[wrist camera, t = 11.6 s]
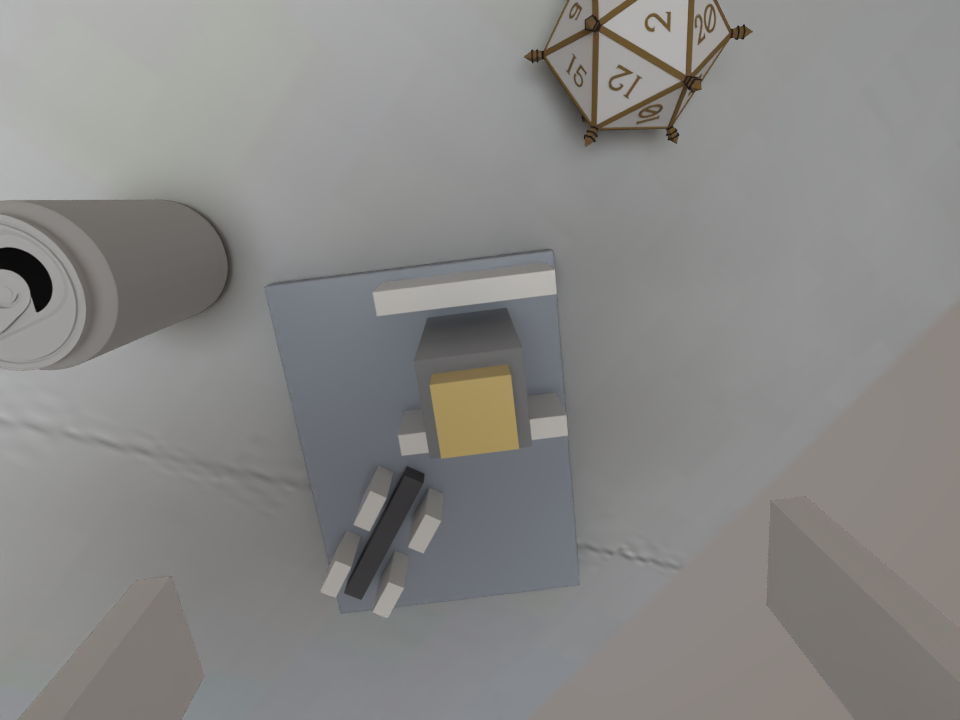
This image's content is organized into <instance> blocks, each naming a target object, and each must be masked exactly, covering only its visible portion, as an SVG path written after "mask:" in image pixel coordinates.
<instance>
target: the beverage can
mask: <svg viewBox="0 0 960 720" xmlns="http://www.w3.org/2000/svg"><path fill="white" fill-rule="evenodd" d="M227 271H228V265H227V256H226V253H225V250H224V247H223V244H222V241H221V239H220V237H219V236H218V234H217V233H216V231H215V230H214V228H213V227H212V226H211V225H210V224H209V222H208V221H207V220H205V219H204V218H203V217H202V216H201V215H200V214H198V213H197V212H195V211H194V210H192V209H190V208H189V207H187V206H184V205H182V204H179V203H176V202H172V201H167V200H7V201H0V368H3V369H8V370H19V371H25V370H35V369H40V370H58V369H65V368H69V367H73V366H76V365H79V364H81V363H83V362H86V361H88V360H90V359H93V358H95V357H97V356H100V355H102V354H104V353H107V352H109V351H111V350H114V349H116V348H118V347H121V346H123V345H125V344H128V343H130V342H132V341H135V340H137V339H139V338H142V337H144V336H146V335H149V334H151V333H153V332H156V331H158V330H160V329H163V328H165V327H167V326H170V325H172V324H174V323H177V322H179V321H181V320H184V319H186V318H188V317H191V316H193V315H195V314H198V313H200V312H202V311H204V310H205V309H207V308H208V307H209V306H211V305H212V304H213V303H214V302H215V301H216V300H217V298H218V297H219V296H220V294H221V292H222V290H223V288H224V286H225V282H226V279H227Z"/></svg>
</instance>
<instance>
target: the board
mask: <svg viewBox="0 0 960 720" xmlns="http://www.w3.org/2000/svg"><path fill="white" fill-rule="evenodd" d="M541 262H545V263H547V264H548V265H549V266H550V267H552V268H553V269H554V258H553V251H552V250H551V249H545V250H537V251H529V252H521V253H513V254H505V255H497V256H489V257H481V258H473V259H465V260H457V261H449V262H441V263H433V264H424V265H416V266H408V267H400V268H392V269H384V270H376V271H368V272H360V273H352V274H344V275H336V276H328V277H320V278H312V279H304V280H295V281H287V282H279V283H272V284H269V285H267V286H265V287H264V288H265V292H266V297H267V301H268V305H269V309H270V314H271V318H272V322H273V326H274V331H275V335H276V339H277V343H278V348H279V352H280V356H281V361H282V365H283V369H284V373H285V378H286V382H287V386H288V390H289V395H290V399H291V403H292V408H293V412H294V416H295V420H296V425H297V429H298V433H299V437H300V442H301V446H302V450H303V454H304V459H305V463H306V467H307V472H308V476H309V480H310V484H311V489H312V493H313V497H314V501H315V506H316V510H317V514H318V518H319V523H320V527H321V531H322V536H323V540H324V544H325V548H326V553H327V557H328V561H329V568H328V571H327V573H326V576H325V579H324V582H323V584H322V587H321V590H320V592H321V593H324V594H326V595H329V596H331V597H334V598H336V596H337V600H338V604H339V608H340V612H341V614H342V613H351V612H359V611H368V610H373V611H372V613H375V614H378V615H380V616H383V617H385V618H388V617H389V615H390V613H391V611H392V609H393V607H401V606H409V605H418V604H426V603H435V602H443V601H451V600H460V599H468V598H476V597H485V596H493V595H502V594H510V593H518V592H527V591H535V590H543V589H552V588H560V587H568V586H577V585H580V584H579V571H578V559H577V546H576V534H575V521H574V509H573V496H572V484H571V471H570V459H569V446H568V436H561V437H553V438H545V439H537V440H532V447H524V448H519V449H515V450H507V451H499V452H491V453H483V454H475V455H466V456H458V457H450V458H442V459H441V458H435V459H430V457H429V453H421V454H413V455H405V456H402V455H401V450H400V444H399V438H398V434H399V430H400V427H401V423H402V420H403V416H404V413H405V411H409V410H417V409H422V408H421V402H420V396H419V390H418V384H417V378H416V372H415V366H414V359H415V355H416V352H417V349H418V346H419V343H420V339H421V336H422V333H423V330H424V327H425V324H426V320H427V318H428V317H436V316H444V315H452V314H460V313H468V312H476V311H484V310H492V309H500V308H507V310H508V313H509V315H510V318H511V320H512V323H513V325H514V328H515V331H516V333H517V336H518V338H519V341H520V343H521V346H522V351H523V361H524V370H525V380H526V390H527V396H531V395H540V394H548V393H556V394H557V396H558V398H559V400H560V403H561V405H562V407H563V409H564V411H565V413H566V408H565V396H564V383H563V371H562V358H561V346H560V333H559V321H558V308H557V296H556V294H553V295H545V296H537V297H529V298H521V299H513V300H505V301H496V302H488V303H480V304H472V305H464V306H456V307H448V308H440V309H432V310H424V311H415V312H407V313H399V314H391V315H383V316H377V314H376V309H375V303H374V297H373V292H374V291H375V290H376V289H377V288H378V287H379V286H380V285H381V284H382V282H388V281H396V280H404V279H412V278H420V277H428V276H436V275H444V274H452V273H460V272H468V271H476V270H485V269H493V268H501V267H509V266H517V265H525V264H533V263H541ZM407 466H408V467H410V468H413V469H415V470H417V471H419V472H422V473H424V474H425V476H424V483H423V485H422V487H421V489H420V491H419V493H418V495H417V497H416V498H415V500H414V502H413V504H412V506H411V508H410V510H409V512H408V513H407V515H406V517H405V519H404V521H403V523H402V525H401V527H400V529H399V530H398V532H397V534H396V536H395V538H394V540H393V542H392V544H391V546H390V547H389V549H388V551H387V553H386V555H385V557H384V559H383V561H382V562H381V564H380V566H379V568H378V570H377V572H376V574H375V576H374V578H373V579H372V581H371V583H370V585H369V587H368V589H367V591H366V593H365V595H364V596H363V598H362V600H360V599H357V598H355V597H352V596H349V595H347V594H344V591H345V588H346V585H347V582H348V579H349V577H350V575H351V573H352V572H353V570H354V568H355V566H356V564H357V562H358V560H359V558H360V556H361V554H362V552H363V550H364V548H365V546H366V544H367V543H368V541H369V539H370V537H371V535H372V533H373V531H374V529H375V527H376V525H377V523H378V521H379V519H380V517H381V515H382V513H383V512H384V510H385V508H386V506H387V504H388V502H389V500H390V498H391V496H392V494H393V492H394V490H395V488H396V486H397V484H398V482H399V481H400V479H401V477H402V475H403V473H404V471H405V469H406V467H407Z"/></svg>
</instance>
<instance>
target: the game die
mask: <svg viewBox="0 0 960 720" xmlns="http://www.w3.org/2000/svg"><path fill="white" fill-rule="evenodd" d="M752 32H753V31H751V30H750V29H748V28H747V27H745V24H744V25H743V26H741V27H739V26H737V28H734V29H731V28H730V26H729V24H728V22H727V20H726V18H725V16H724V14H723V12H722V10H721V8H720V6H719V4H718V1H717V0H568V1H567V3H566V5H565V7H564V9H563V11H562V13H561V15H560V17H559V20H558V22H557V24H556V26H555V28H554V30H553V32H552V34H551V36H550V39H549V41H548V43H547V45H546V47H545V49H544V51H538V49H537V50H536V51H533V50H531V52H530V53H528V54H527V55H526V56H524V57H525V58H526V59H528V60H530V61H531V62H532V63H533V62H536V61H537V62H538V61H539V60H541V59H544V60H545V62H546V63H547V65H548V66H549V67H550V69H551V70H552V72H553V73H554V75H555V76H556V78H557V79H558V80H559V82H560V83H561V85H562V86H563V88H564V89H565V91H566V92H567V93H568V95H569V96H570V98H571V99H572V101H573V102H574V104H575V105H576V106H577V108H578V109H579V111H580V112H581V114H582V119H583V122H585V121H587V122H588V124H589V125H590V127H591V128H590V129H589V130H587V134H586V135H584V139H585V147H586V146H588V145H589V144H591V143H592V142H595V138H596V137H597V131H598V130H629V129H666V130H667V134H666V136H668V140H671V141H672V142H674V143H676V144H677V140H678V136H679V134H678V132H677V129H676V128H674V127H673V124H674V123H675V121H676V120H677V118H678V117H679V115H680V114H681V112H682V111H683V109H684V108H685V106H686V105H687V103H688V102H689V100H690V99H691V97H692V96H693V94H694V92H695V91H698V90H701V89H702V88H701V82H702V80H703V79H704V77H705V76H706V74H707V73H708V71H709V70H710V68H711V67H712V65H713V64H714V62H715V61H716V59H717V58H718V56H719V55H720V53H721V52H722V50H723V48H724V47H725V45H726V44H727V42H728V41H729V39H730V38H735V39H736V40H738V38H740V39H744V38H745V37H746V36H747V35H749V34H750V33H752Z"/></svg>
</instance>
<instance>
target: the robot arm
mask: <svg viewBox="0 0 960 720" xmlns="http://www.w3.org/2000/svg"><path fill="white" fill-rule="evenodd" d="M767 606H768V607H769V609H770V610H771V611H772V612H773V614H774V615H775V616H776V618H777V619H778V620H779V622H780V623H781V624H782V626H783V627H784V628H785V629H786V631H787V632H788V634H789V635H790V636H791V637H792V639H793V640H794V641H795V643H796V644H797V645H798V647H799V648H800V649H801V651H802V652H803V653H804V655H805V656H806V657H807V658H808V660H809V661H810V662H811V664H812V665H813V666H814V668H815V669H816V670H817V672H818V673H819V674H820V676H821V677H822V678H823V679H824V681H825V682H826V683H827V685H828V686H829V687H830V689H831V690H832V691H833V692H834V694H835V695H836V696H837V698H838V699H839V700H840V702H841V703H842V704H843V706H844V707H845V708H846V710H847V711H848V712H849V714H850V715H851V716H852V717H853V719H854V720H960V627H958V626H957V625H956V624H955V623H954V622H953V621H951V620H950V619H949V618H948V617H947V616H946V615H944V614H943V613H942V612H941V611H940V610H939V609H937V608H936V607H935V606H934V605H933V604H932V603H930V602H929V601H928V600H927V599H926V598H924V597H923V596H922V595H921V594H920V593H918V592H917V591H916V590H915V589H914V588H913V587H911V586H910V585H909V584H908V583H907V582H906V581H905V580H903V579H902V578H901V577H900V576H899V575H897V574H896V573H895V572H894V571H893V570H892V569H890V568H889V567H888V566H887V565H886V564H885V563H883V562H882V561H881V560H880V559H879V558H877V557H876V556H875V555H874V554H873V553H872V552H871V551H869V550H868V549H867V548H866V547H865V546H863V545H862V544H861V543H860V542H859V541H858V540H856V539H855V538H854V537H853V536H852V535H850V534H849V533H848V532H847V531H846V530H844V528H842V527H841V526H840V525H839V524H838V523H836V522H835V521H834V520H833V519H832V518H831V517H829V516H828V515H827V514H826V513H825V512H824V511H822V510H821V509H820V508H819V507H818V506H817V505H815V504H814V503H813V502H812V501H811V500H810V499H808V498H807V497H806V496H801V497H793V498H785V499H777V500H771V501H770V527H769V553H768V578H767ZM204 676H205V675H204V672H203V669H202V666H201V663H200V660H199V657H198V654H197V651H196V649H195V646H194V643H193V640H192V637H191V634H190V631H189V628H188V625H187V622H186V619H185V616H184V613H183V610H182V607H181V604H180V601H179V598H178V595H177V592H176V589H175V586H174V583H173V580H172V577H171V576H168V577H160V578H152V579H144V580H136V581H135V582H134V584H133V585H132V586H131V587H130V588H129V590H128V591H127V592H126V593H125V594H124V595H123V597H122V598H121V599H120V600H119V601H118V602H117V604H116V605H115V606H114V607H113V608H112V610H111V611H110V612H109V613H108V614H107V615H106V617H105V618H104V619H103V620H102V621H101V623H100V624H99V625H98V626H97V627H96V628H95V630H94V631H93V632H92V633H91V634H90V635H89V637H88V638H87V639H86V640H85V641H84V643H83V644H82V645H81V646H80V647H79V648H78V650H77V651H76V652H75V653H74V654H73V656H72V657H71V658H70V659H69V660H68V661H67V663H66V664H65V665H64V666H63V667H62V669H61V670H60V671H59V672H58V673H57V674H56V676H55V677H54V678H53V679H52V680H51V681H50V683H49V684H48V685H47V686H46V687H45V689H44V690H43V691H42V692H41V693H40V694H39V696H38V697H37V698H36V699H35V700H34V702H33V703H32V704H31V705H30V706H29V707H28V709H27V710H26V711H25V712H24V713H23V714H22V716H21V717H20V718H19V719H18V720H181V719H182V717H183V715H184V714H185V712H186V710H187V708H188V706H189V704H190V702H191V700H192V699H193V697H194V695H195V693H196V691H197V689H198V687H199V686H200V684H201V682H202V680H203V678H204Z"/></svg>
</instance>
